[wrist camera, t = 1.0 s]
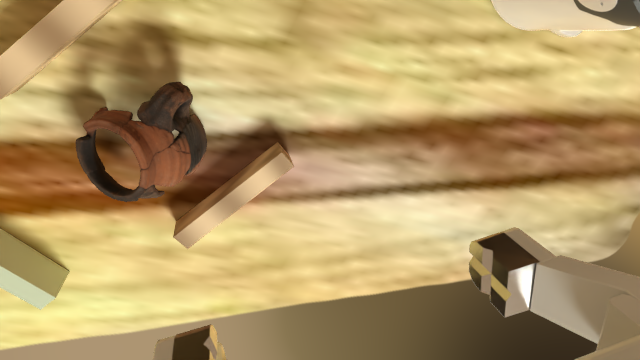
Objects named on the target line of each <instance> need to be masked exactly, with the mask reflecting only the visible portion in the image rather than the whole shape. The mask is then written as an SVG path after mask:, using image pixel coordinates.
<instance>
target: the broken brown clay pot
mask: <svg viewBox="0 0 640 360" xmlns="http://www.w3.org/2000/svg"><path fill="white" fill-rule="evenodd" d="M192 99H193V96H192V94H191V92H190V89H189V88H188V87H187V86H185V85H183V84H182V83H181V82H172V83H168V84H166V85H164V86H163V87H161V88H160V89H159V90H158V91H157V92H156V93H155V95H154V96H153V97H152V98H151V100H150V101H148V102H144V103H142V105H141V106H140V108H139V109H138V112H137V115H138V118H139V119H140V120H141V121H133V120H131V119H132V116H133V114H132V113H131V112H128V111H117V110H111V111H108V109H107V108H106V107H105V108H100V110H99V111H97V112H95V114H94V116H93V117H92V119H90V120H89V121H87V122H86V123H85V124H84V125H83V127H84V128H85V130H86V131H87V135H86V136H84V137H80V138H78V139H77V140H76V151H77V155H78V159H79V162H80V164H81V166H82V168H83V170H84V172H85V173H86V174H87V176H88V178H89V179H90V180H91V182H92V183H93V184H94V185H95V186H96V187H97V188H98V189H99V190H100V191H101V192H103V193H104V194H105V195H107V196H109V197H111V198H113V199H116V200H120V201H125V202H127V201H137V200H138V198H157V197H160V196H162V195H163V194H164V191H158V190H157V189H156V188H155V186H154V185H159V186H174V185H176V184H178V183H179V182H181V181H182V179H183V177H184V175H186V176H189V175H191V174H192V173H193V172H194V171H195V170H196V169H197V167H198V166H199V163H200V162H201V161H202V159H203V158H204V155H205V152H206V147H207V140H206V134H205V130H204V128H203V126H202V124H201V122H200V120H199V119H198V118H197V116H196V115H195V114H193V115H192V116H189V115H190V113H189V107H190V104H191V102H192ZM99 128H103V129H108V130H110V131H112V132H115V133H117V134H119V135H120V136H121V137H122V138H123V139H124V140H125V141H126V142H127V143H128V145H129V146H130V147H131V149H132V150H133V152H134V154H135V155H136V158H137V160H138V163H139V166H140V168H141V170H140V172H141V177H140V182H139V186H138V187H137V188H136V189H135V190H132V189H127V188H125V187H123V186H121V185H120V184H118V183H117V182H116V181H115V180H114V179H113V178H112V177H111V176H110V175H109V174H108V173H107V172H106V171H105V167H104V166H103V164H102V162H101V160H100V158H99V156H98V154H97V151H96V146H95V135H96V129H99ZM174 129H175V130H177V131H179V134H178V136H177V137H176V139H174V135H173V133H172V131H173V130H174Z"/></svg>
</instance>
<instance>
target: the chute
mask: <svg viewBox="0 0 640 360" xmlns="http://www.w3.org/2000/svg"><path fill="white" fill-rule="evenodd" d="M121 1H122V0H63V1H62V2H61V3H60V4H59V5H57V6H56V7H55V8H54V9H53V10H52V11H51V12H49V13H48V14H47V15H46V16H45V17H44V18H43V19H41V20H40V21H39V22H38V23H37V24H36V25H35V26H34V27H32V28H31V29H30V30H29V31H28V32H27V33H26V34H24V35H23V36H22V37H21V38H20V39H19V40H18V41H16V42H15V43H14V44H13V45H12V46H11V47H10V48H8V49H7V50H6V51H5V52H4V53H3V54H2V55H1V56H0V99H2V98H4V97H6V96H8V95H10V94H12V93H14V92H16V91H18V90H19V89H20V88H21V87H22V86H24V85H25V84H26V83H27V82H28V81H29V80H30V79H32V78H33V77H34V76H35V75H36V74H37V73H39V72H40V71H41V70H42V69H43V68H44V67H46V66H47V65H48V64H49V63H50V62H51V61H52V60H54V59H55V58H56V57H57V56H58V55H59V54H61V53H62V52H63V51H64V50H65V49H66V48H68V47H69V46H70V45H71V44H72V43H73V42H74V41H76V40H77V39H78V38H79V37H80V36H81V35H83V34H84V33H85V32H86V31H87V30H88V29H89V28H91V27H92V26H93V25H94V24H95V23H96V22H98V21H99V20H100V19H101V18H102V17H103V16H105V15H106V14H107V13H108V12H109V11H110V10H111V9H113V8H114V7H115V6H116V5H117V4H118V3H120V2H121ZM293 167H294V165H293V163H292V161H291V158H290V156H289V155H288V153H287V152H286V151H285V150H284V149H283V148H282V146H281V145H280V144H279V143H278V142H277V143H276V144H274V145H273V146H272V147H270V148H269V149H268V150H267V151H265V152H264V153H263V154H262V155H260V156H259V157H258V158H256V159H255V160H254V161H253V162H251V163H250V164H249V165H248V166H246V167H245V168H244V169H242V170H241V171H240V172H239V173H237V174H236V175H235V176H234V177H232V178H231V179H230V180H228V181H227V182H226V183H225V184H223V185H222V186H221V187H220V188H218V189H217V190H216V191H214V192H213V193H212V194H211V195H209V196H208V197H207V198H206V199H204V200H203V201H202V202H200V203H199V204H198V205H197V206H195V207H194V208H193V209H192V210H190V211H189V212H188V213H186V214H185V215H184V216H183V217H181V218H180V219H179V220H178V221H176V225H175V230H174V236H173V237H174V238H175V239H176V240H177V241H179V242H180V243H181V244H182V245H184V246H185V247H186V248H187V249H188V248H190V247H191V246H192V245H193V244H195V243H196V242H197V241H199V240H200V239H201V238H202V237H204V236H205V235H206V234H208V233H209V232H210V231H211V230H213V229H214V228H215V227H217V226H218V225H219V224H220V223H222V222H223V221H224V220H226V219H227V218H228V217H229V216H231V215H232V214H233V213H235V212H236V211H237V210H239V209H240V208H241V207H242V206H244V205H245V204H246V203H248V202H249V201H250V200H251V199H253V198H254V197H255V196H257V195H258V194H259V193H260V192H262V191H263V190H264V189H266V188H267V187H268V186H269V185H271V184H272V183H273V182H275V181H276V180H277V179H278V178H280V177H281V176H282V175H284V174H285V173H286V172H288V171H289V170H290V169H291V168H293Z"/></svg>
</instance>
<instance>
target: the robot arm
mask: <svg viewBox="0 0 640 360" xmlns="http://www.w3.org/2000/svg"><path fill="white" fill-rule="evenodd" d="M491 2H492V4H493V6H494V8H495V9H496V11H497V13H498V14H499V15H500V16H501V17H502V18H503V19H504V20H505V21H506V22H507V23H508V24H510V25H512V26H514V27H516V28H518V29H522V30H529V31H534V30H550V31H552V32H553V33H555V34H557V35H559V36H562V37H575V36H577V35H579V34H580V33H581V32H582V31H597V30H629V29H632V28H635V27H639V28H640V0H491ZM469 252H470V253H471V254H472V255H473V258H472V259H471V261H470V262H469V272H470V275H471V278H472V280H473V282H474V284H475V285H476V286H477V288H478V289H479V290H480V291H481V292H483V293H486V294H489V295H490V302H491V303H492V304H493V305H494V306H495V308H496V309H498V311H499V312H500V313H501V314H502V315H503V316H504V317H508V316H511V315H514V314H517V313H520V312H523V311H526V310H530V311H532V312H534V313H536V314H538V315H540V316H542V317H544V318H546V319H548V320H550V321H552V322H554V323H556V324H558V325H560V326H562V327H564V328H566V329H568V330H570V331H573V332H574V333H577V334H579V335H581V336H583V337H585V338H587V339H589V340H591V341H593V342H595V343H597V344H598V345H597V349H596V352H593V353H590V354H588V355H585V356H583V357H580V358H577V359H575V360H640V277H637V276H634V275H630V274H626V273H622V272H619V271H615V270H612V269H608V268H604V267H601V266H597V265H594V264H590V263H587V262H583V261H579V260H576V259H572V258H569V257H565V256H561V255H560V256H557V257H556V256H555V255H553V254H552V253H551V252H549V251H548V250H547V249H545V248H544V247H543V246H541V245H540V244H539V243H537V242H536V241H535V240H533V239H532V238H531V237H530V236H528V235H527V234H526V233H524V232H523V231H522V230H520V229H518V228H515V227H514V228H511V229H508V230H505V231H502V232H500V233H496V234H493V235H490V236H487V237H484V238H481V239H478V240H475V241H472V242H471V244H470V248H469ZM153 360H227V359H226V355H225V351H224V348H223V346H222V344H221V343H219V342H217V332H216V330H215V328H214V326H213V325H208V326H204V327H201V328H197V329H194V330H190V331H187V332H184V333H180V334H177V335H175V336H172V337H168V338H165V339H161V340H158V341H157V343H156V345H155V349H154V355H153Z"/></svg>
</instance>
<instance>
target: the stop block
mask: <svg viewBox="0 0 640 360" xmlns="http://www.w3.org/2000/svg"><path fill="white" fill-rule="evenodd" d="M69 272H70V271H68V270H66V269H65V268H63V267H62V266H60V265H58V264H57V263H55V262H54V261H52V260H50V259H49V258H47V257H46V256H44V255H42V254H41V253H39V252H38V251H36V250H34V249H33V248H31V247H30V246H28V245H26V244H25V243H23V242H22V241H20V240H18V239H17V238H15V237H14V236H12V235H10V234H9V233H7V232H5V231H4V230H2V229H1V228H0V288H2V289H4V290H6V291H7V292H9V293H11V294H13V295H15V296H17V297H18V298H20V299H22V300H24V301H26V302H28V303H29V304H31V305H33V306H35V307H37V308H39V309H40V310H41V309H42V308H43V307H45V306H46V305H47V304H48V303H50V302H51V301H52V300H54V299H55V298H56V296H57V294H58V292H59V291H60V289H61V287H62V285H63V283H64V281H65V279H66V277H67V275H68V274H69Z"/></svg>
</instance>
